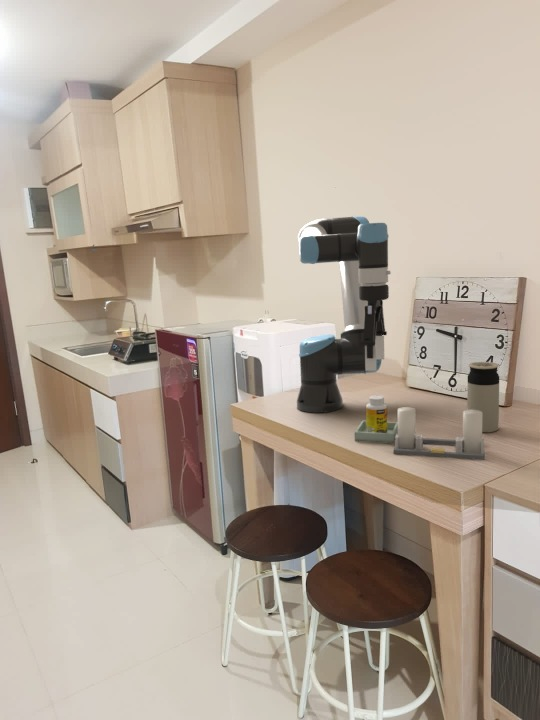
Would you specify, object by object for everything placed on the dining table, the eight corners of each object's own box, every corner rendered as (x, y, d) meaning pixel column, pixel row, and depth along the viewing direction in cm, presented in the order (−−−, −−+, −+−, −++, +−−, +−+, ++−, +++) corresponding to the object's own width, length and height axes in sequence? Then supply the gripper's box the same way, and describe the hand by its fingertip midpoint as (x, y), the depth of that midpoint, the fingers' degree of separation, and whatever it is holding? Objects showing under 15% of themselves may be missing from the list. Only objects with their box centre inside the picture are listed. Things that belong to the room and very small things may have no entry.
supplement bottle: (376, 438, 145) (376, 401, 143) (362, 433, 149) (361, 397, 148) (391, 433, 148) (391, 397, 146) (377, 428, 152) (376, 393, 150)
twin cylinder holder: (393, 453, 135) (392, 415, 133) (398, 440, 144) (397, 403, 142) (484, 460, 127) (485, 419, 126) (483, 445, 137) (484, 406, 135)
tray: (354, 441, 146) (354, 432, 145) (362, 429, 155) (361, 420, 154) (393, 443, 142) (393, 434, 142) (398, 431, 151) (398, 422, 151)
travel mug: (479, 435, 144) (480, 368, 141) (461, 426, 152) (461, 363, 149) (504, 430, 147) (506, 365, 143) (485, 422, 154) (486, 360, 151)
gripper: (380, 288, 128) (382, 375, 132) (394, 280, 151) (395, 355, 155) (349, 289, 131) (351, 375, 135) (367, 281, 153) (369, 354, 158)
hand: (375, 364), depth 145 cm, fingers open, 13 cm apart
